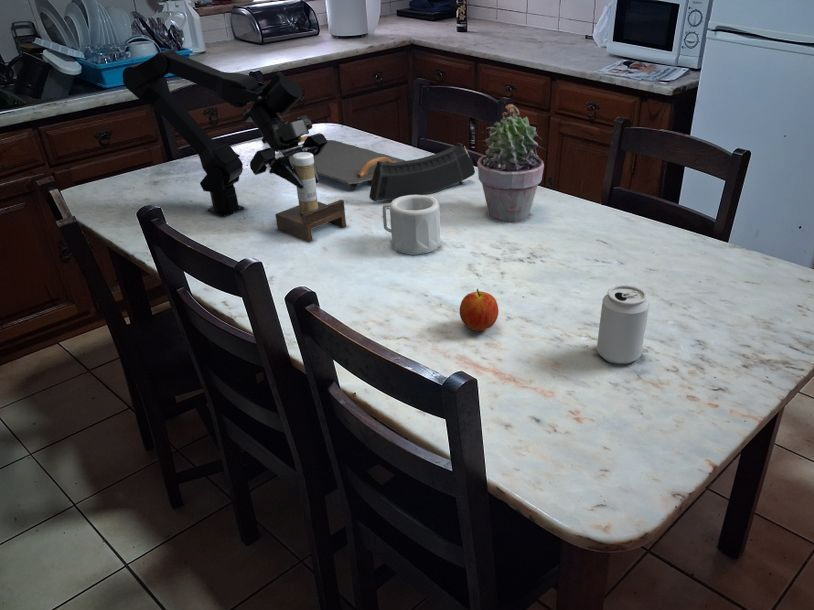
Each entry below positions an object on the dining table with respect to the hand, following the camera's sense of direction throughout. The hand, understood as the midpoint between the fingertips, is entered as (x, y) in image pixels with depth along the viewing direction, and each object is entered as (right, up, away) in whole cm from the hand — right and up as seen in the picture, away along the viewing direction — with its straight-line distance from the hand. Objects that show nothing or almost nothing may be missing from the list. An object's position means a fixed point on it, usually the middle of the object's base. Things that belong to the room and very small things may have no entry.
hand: (310, 185), depth 158 cm
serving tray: (-1, +14, +42) cm, 44 cm away
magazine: (+24, +4, +26) cm, 36 cm away
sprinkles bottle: (-1, -5, +5) cm, 7 cm away
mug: (+23, -14, -1) cm, 26 cm away
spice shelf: (-1, -9, +7) cm, 11 cm away
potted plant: (+46, -5, +13) cm, 48 cm away
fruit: (+37, -33, -31) cm, 59 cm away
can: (+61, -38, -38) cm, 82 cm away
